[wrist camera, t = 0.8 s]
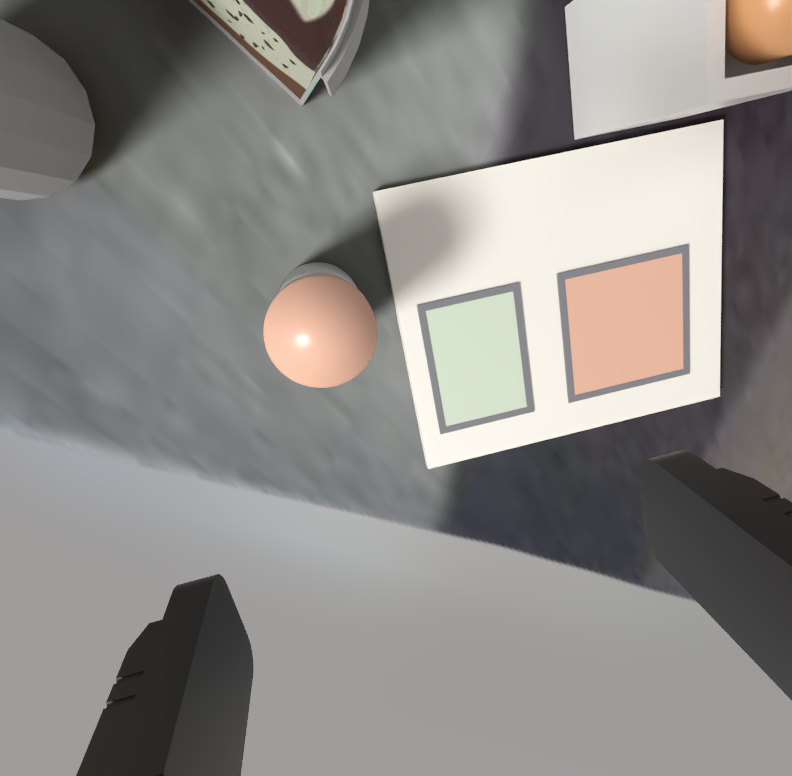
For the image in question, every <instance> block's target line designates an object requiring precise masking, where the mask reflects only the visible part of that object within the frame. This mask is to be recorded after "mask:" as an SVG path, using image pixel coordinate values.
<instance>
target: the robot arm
mask: <svg viewBox="0 0 792 776" xmlns="http://www.w3.org/2000/svg"><path fill="white" fill-rule="evenodd" d="M641 492H642V511H643V528H644V534H645V537H646V540H647V543H648V545H649V548H650V549H651V551H652V553H653V555H654V556H655V558H656V559H657V560H658V561H659V562H660V564H661V565H662V566H663V567H664V568H665V569H666V570H667V571H668V572H669V573H670V574H671V575H672V576H673V577H674V578H675V579H676V580H677V581H678V582H679V583H680V584H681V585H682V586H683V587H684V589H685V590H686V591H687V592H688V593H689V594H690V595H691V596H692V597H693V598H694V599H695V600H696V601H697V602H698V603H699V604H700V605H701V606H702V607H703V608H704V609H705V610H706V611H707V612H708V614H709V615H711V617H712V618H713V619H714V620H715V621H716V622H717V623H718V624H719V625H720V626H721V627H722V628H723V629H724V630H725V631H726V632H727V633H728V634H729V635H730V636H731V638H732V639H733V640H734V641H735V642H736V643H737V644H738V645H739V646H740V647H741V648H742V649H743V650H744V651H745V652H746V653H747V654H748V655H749V656H750V657H751V658H752V659H753V660H754V661H755V663H756V664H757V665H758V666H759V667H760V668H761V669H762V670H764V672H765V673H766V674H767V675H768V676H769V677H770V678H771V679H772V680H773V681H774V682H775V683H776V684H777V685H778V687H779V688H780V689H781V690H782V691H783V692H784V693H785V694H786V695H787V696H788V697H789V698H790V699H791V700H792V502H790V501H789V500H787V499H785V498H783V499H781V498H780V495H779V494H778V493H776V492H774V491H773V490H771V489H770V488H768V487H766V486H765V485H763V484H762V483H760V482H759V481H757V480H755V479H754V478H751V477H748V476H745V475H742V474H739V473H736V472H733V471H730V470H727V469H724V468H719V469H715V468H714V467H712V466H711V465H709V464H708V463H706V462H705V461H703V460H702V459H700V458H699V457H697V456H696V455H694V454H693V453H691V452H689V451H687V450H681V451H677V452H673V453H669V454H666V455H662V456H658V457H655V458H651V459H647V460H645V461H643V463H642V465H641ZM252 679H253V657H252V650H251V645H250V641H249V638H248V635H247V633H246V630H245V628H244V625H243V623H242V620H241V618H240V615H239V613H238V611H237V608H236V606H235V603H234V601H233V598H232V596H231V593H230V591H229V589H228V586H227V584H226V581H225V580H224V578H223V577H222V576H221V575H219V574H217V575H214V576H210V577H206V578H203V579H199V580H195V581H191V582H188V583H184V584H180V585H177V586H176V587H175V588H174V590H173V592H172V595H171V597H170V600H169V603H168V606H167V609H166V612H165V614H164V617H163V620H160V621H156V622H153V623H149V624H148V626H147V627H146V628H145V629H144V631H143V632H142V633H141V634H140V636H139V637H138V638H137V639H136V641H135V642H134V643H133V644H132V646H131V647H130V648H129V649H128V651H127V653H126V656H125V658H124V660H123V663H122V665H121V668H120V670H119V673H118V675H117V678H116V680H117V683H116V684H114V685H113V687H112V690H111V692H110V695H109V697H108V700H107V702H106V703H107V708H106V709H103V712H102V714H101V717H100V719H99V722H98V724H97V727H96V729H95V731H94V734H93V736H92V739H91V741H90V744H89V746H88V748H87V751H86V753H85V756H84V758H83V761H82V763H81V766H80V768H79V771H78V773H77V776H241V768H242V760H243V752H244V743H245V736H246V727H247V719H248V711H249V703H250V694H251V687H252Z"/></svg>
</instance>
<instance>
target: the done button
mask: <svg viewBox="0 0 792 776" xmlns="http://www.w3.org/2000/svg"><path fill="white" fill-rule="evenodd" d="M725 50H726V52H727V53H728V54H729V55H731V56H732V57H733V58H734V59H736V60H738V61H740V62H742V63H745V64H750V65H760V64H766V63H769V62H772V61H775V60H779V59H782V58H785V57H788V56H791V55H792V0H726V16H725Z"/></svg>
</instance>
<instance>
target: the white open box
mask: <svg viewBox="0 0 792 776" xmlns="http://www.w3.org/2000/svg"><path fill="white" fill-rule="evenodd" d="M565 16H566V30H567V43H568V57H569V70H570V84H571V98H572V111H573V125H574V139H575V140H576V139H581V138H586V137H591V136H596V135H600V134H605V133H610V132H615V131H620V130H625V129H630V128H635V127H640V126H644V125H649V124H654V123H659V122H664V121H669V120H674V119H679V118H683V117H687V116H691V115H695V114H699V113H703V112H707V111H711V110H715V109H719V108H723V107H727V106H731V105H735V104H739V103H743V102H747V101H751V100H755V99H759V98H763V97H767V96H771V95H775V94H779V93H783V92H787V91H791V90H792V55H791V56H788V57H785V58H782V59H779V60H775V61H772V62H769V63H766V64H760V65H750V64H745V63H742V62H740V61H738V60H736V59H734V58H733V57H732V56H731V55H729V54H728V53H727V52H726V50H725V16H726V0H573V1H572V2H571V3H569V4H568V5H567V6H566V7H565Z"/></svg>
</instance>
